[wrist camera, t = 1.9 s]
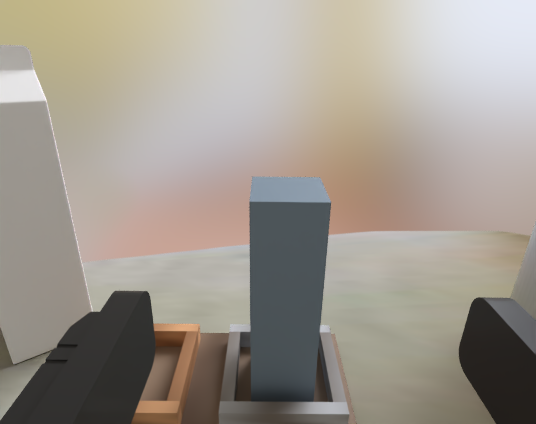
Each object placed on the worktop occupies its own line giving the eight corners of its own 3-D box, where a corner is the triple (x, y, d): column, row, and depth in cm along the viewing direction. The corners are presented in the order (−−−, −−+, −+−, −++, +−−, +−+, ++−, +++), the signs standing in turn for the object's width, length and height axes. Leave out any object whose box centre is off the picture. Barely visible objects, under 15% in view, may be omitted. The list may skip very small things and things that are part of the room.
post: (306, 357, 27) (320, 177, 22) (313, 404, 23) (331, 202, 18) (253, 357, 27) (252, 176, 21) (251, 404, 23) (249, 201, 18)
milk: (7, 323, 32) (-90, 43, 23) (82, 297, 35) (23, 46, 26) (13, 367, 27) (-103, 40, 18) (99, 333, 30) (35, 44, 22)
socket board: (333, 343, 30) (336, 319, 29) (359, 454, 21) (364, 425, 20) (100, 341, 30) (95, 317, 29) (36, 452, 21) (25, 423, 20)
